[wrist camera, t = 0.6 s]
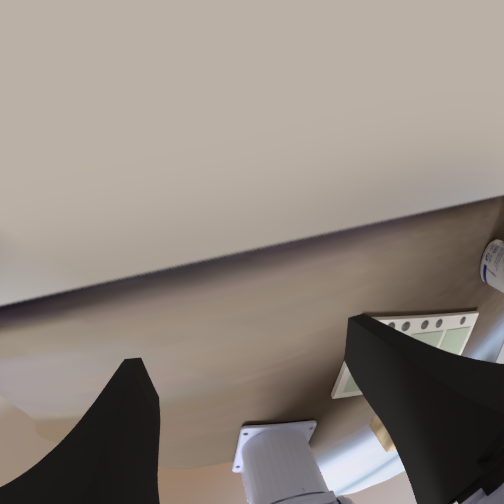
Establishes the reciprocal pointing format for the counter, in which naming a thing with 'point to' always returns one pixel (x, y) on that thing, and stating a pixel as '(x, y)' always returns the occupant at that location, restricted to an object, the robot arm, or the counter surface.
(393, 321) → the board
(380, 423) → the ash block
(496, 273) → the energy drink
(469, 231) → the counter surface
